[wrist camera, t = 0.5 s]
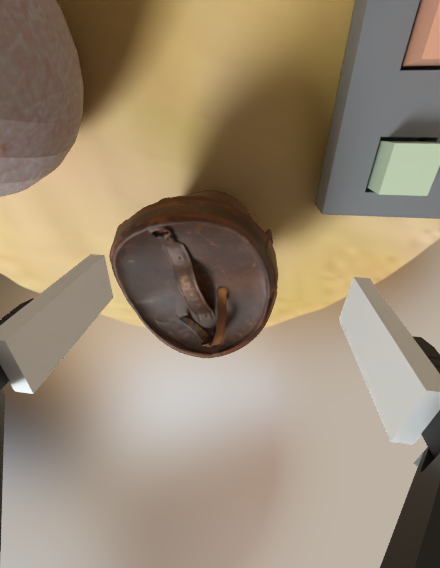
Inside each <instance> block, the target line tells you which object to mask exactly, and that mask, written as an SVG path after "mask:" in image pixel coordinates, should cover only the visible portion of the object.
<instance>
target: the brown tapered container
mask: <svg viewBox="0 0 440 568" xmlns="http://www.w3.org/2000/svg"><path fill="white" fill-rule="evenodd" d="M272 243H273V240H272V233H271V231H270V229H269V230H268V231H267V232H266V234H265V233H264V231H263V230H262V229H261V228H260V227H259V226H258V224H257V223H256V222H254V220H253V219H252V218H251V217H250V215H249V213H248V212H247V210H246V209H245V208H244V206H243V205H242V204H241V203H240V202H239V201H238V200H236V199H235V198H233V197H232V196H230V195H228V194H225V193H222V192H218V191H203V192H198V193H195V194H191V195H187V196H177V197H172V198H164V199H161V200H160V201H159V202H157V203H154V204H152V205H149V206H147V207H144V208H143V209H141V210H140V211H138V212H137V213H136V214H135V215H133V216H132V217H130V219H128V220H125V221H124V222H123V223H122V224H120V225H119V226H118V228H117V231H116V235H115V238H114V242H113V244H112V247H111V251H110V261H111V264H112V269H113V272H114V275H115V277H116V280H117V282H118V284H119V286H120V288H121V289H122V292H123V294H124V295H125V297H126V299H127V301H128V302H129V304H130V305H131V306H132V308H133V309H134V310H135V312H136V313H137V315H138V316H139V318H140V319H141V321H142V322H143V323H144V324H145V325H146V327H147V328H148V329H150V331H151V332H152V333H153V334H154V335H155V336H156V337H157V338H158V339H160V340H161V341H162V342H163V343H165V344H166V345H167V346H169V347H171V348H172V349H174V350H176V351H178V352H181V353H184V354H187V355H191V356H195V357H200V358H214V357H219V356H223V355H227V354H230V353H232V352H234V351H237V350H239V349H240V348H242V347H244V346H245V345H247V344H248V343H249V342H251V341H252V340H253V339H254V338H255V337H256V336H257V335H258V334H259V333H260V332H261V330H262V329H263V328H264V326H265V325H266V323H267V321H268V319H269V317H270V314H271V312H272V309H273V306H274V303H275V300H276V296H277V281H278V269H277V262H276V255H275V251H274V248H273V246H272Z"/></svg>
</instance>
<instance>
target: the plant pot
mask: <svg viewBox="0 0 440 568" xmlns="http://www.w3.org/2000/svg"><path fill="white" fill-rule="evenodd" d="M83 91H84V85H83V80H82V74H81V69H80V63H79V58H78V52H77V49H76V47H75V44H74V41H73V39H72V36H71V33H70V31H69V28H68V25H67V22H66V20H65V17H64V14H63V12H62V10H61V8H60V6H59V4H58V3H57V1H56V0H0V197H2V196H6V195H10V194H14V193H17V192H20V191H23V190H25V189H27V188H29V187H30V186H32V185H33V184H35V183H36V182H38V181H39V180H41V179H42V178H44V177H45V176H46V175H48V174H49V173H51V172H52V171H54V170H55V169H56V168H57V167H58V166H59V165H60V164H61V162H62V161H63V159H64V158H65V156H66V155H67V153H68V152H69V150H70V149H71V147H72V146H73V144H74V143H75V141H76V137H77V134H78V130H79V127H80V123H81V120H82V116H83Z"/></svg>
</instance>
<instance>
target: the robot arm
mask: <svg viewBox="0 0 440 568" xmlns="http://www.w3.org/2000/svg"><path fill="white" fill-rule="evenodd" d="M112 298H113V294H112V289H111V285H110V280H109V275H108V271H107V266H106V261H105V257H104V255H93V254H91V255H89V256H88V257H87V258H85V259H84V260H83V261H82V262H80V263H79V264H78V265H77V266H75V267H74V268H73V269H71V270H70V271H69V272H68V273H66V274H65V275H64V276H63V277H61V278H60V279H59V280H57V281H56V282H55V283H54V284H52V285H51V286H50V287H49V288H47V289H46V290H45V291H44V292H42V293H41V294H40V295H38V296H37V297H36V298H35V299H34V298H33V299H31V300H28V301H27V302H24V303H22V304H20V305H19V306H17V307H16V308H15V309H14V310H12V311H11V312H10V314H7V315H6V316H4V317H3V318H2V320H0V550H1V514H2V513H1V512H2V479H3V442H4V407H5V405H4V403H5V394H4V391H3V390H2V388H3V387H4V386H5V385H6V384H7V383H8V382H10V383H11V386H12V387H13V389H14V391H16V392H23V393H31V394H34V393H35V391H36V390H37V389H38V388H39V387H40V385H41V384H42V383H43V382H44V380H45V379H46V378H47V377H48V376H49V374H50V373H51V372H52V371H53V370H54V368H55V367H56V366H57V365H58V364H59V362H60V361H61V360H62V359H63V357H64V356H65V355H66V354H67V353H68V351H69V350H70V349H71V348H72V346H73V345H74V344H75V343H76V342H77V340H78V339H79V338H80V337H81V336H82V334H83V333H84V332H85V331H86V330H87V328H88V327H89V326H90V325H91V324H92V322H93V321H94V320H95V319H96V317H97V316H98V315H99V314H100V313H101V311H102V310H103V309H104V308H105V307H106V305H107V304H108V303H109V302H110V301H111V299H112ZM339 322H340V324H341V326H342V329H343V331H344V333H345V336H346V338H347V340H348V343H349V345H350V348H351V350H352V352H353V355H354V357H355V359H356V362H357V364H358V366H359V369H360V371H361V374H362V376H363V378H364V381H365V383H366V385H367V388H368V390H369V392H370V395H371V397H372V400H373V402H374V404H375V407H376V409H377V411H378V414H379V416H380V418H381V421H382V423H383V425H384V428H385V430H386V433H387V435H388V437H389V440H390V442H396V443H404V444H412V445H414V444H415V443H416V441H417V440H418V439H419V438H420V436H421V435H422V436H423V438H424V440H425V442H426V443H427V445H428V447H427V449H426V450H425V451H424V452H423V453H422V454H421V455H420V457H419V458H418V459H417V460H416V461H415V463H414V464H415V465H417V466H418V468H417V471H416V474H415V476H414V479H413V482H412V484H411V487H410V489H409V492H408V495H407V497H406V500H405V503H404V505H403V508H402V511H401V513H400V516H399V519H398V521H397V524H396V527H395V529H394V532H393V535H392V537H391V540H390V543H389V545H388V548H387V551H386V553H385V556H384V559H383V561H382V564H381V567H380V568H440V354H439V353H438V352H437V351H436V349H435V348H434V347H433V346H432V345H430V344H429V343H428V342H426V341H425V340H424V339H423V338H421V337H412V336H411V334H410V333H409V331H408V330H407V329H406V327H405V326H404V325H403V323H402V322H401V321H400V319H399V318H398V316H397V315H396V314H395V313H394V311H393V310H392V308H391V307H390V306H389V305H388V303H387V302H386V300H385V299H384V298H383V296H382V295H381V293H380V292H379V291H378V289H377V288H376V287H375V285H374V284H373V283H372V281H371V280H370V278H359V277H353V280H352V283H351V286H350V289H349V292H348V295H347V298H346V300H345V303H344V306H343V309H342V312H341V315H340V318H339Z"/></svg>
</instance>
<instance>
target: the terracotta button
mask: <svg viewBox="0 0 440 568" xmlns="http://www.w3.org/2000/svg"><path fill="white" fill-rule="evenodd" d="M402 66H440V0H421V2H420V5H419V9H418V12H417V16H416V19H415V23H414V26H413V30H412V33H411V37H410V40H409V43H408V47H407V50H406V54H405V57H404V61H403V64H402Z"/></svg>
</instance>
